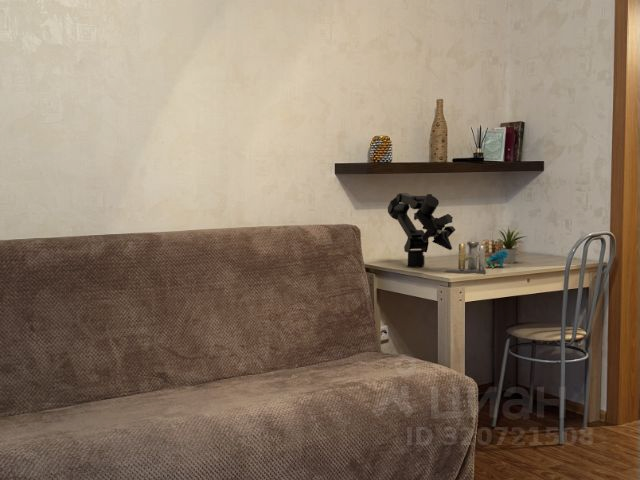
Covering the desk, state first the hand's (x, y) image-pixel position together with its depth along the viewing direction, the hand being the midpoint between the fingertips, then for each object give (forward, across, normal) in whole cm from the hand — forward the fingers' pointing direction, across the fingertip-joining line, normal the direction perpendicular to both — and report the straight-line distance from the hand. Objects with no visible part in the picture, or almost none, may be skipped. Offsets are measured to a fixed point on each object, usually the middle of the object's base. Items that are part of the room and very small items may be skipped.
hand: (451, 249), depth 317 cm
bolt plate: (+11, +1, +2) cm, 11 cm away
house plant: (+10, +43, +3) cm, 44 cm away
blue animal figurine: (+12, +25, +1) cm, 28 cm away
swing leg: (+8, +5, +2) cm, 10 cm away
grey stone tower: (+11, +8, +2) cm, 14 cm away
